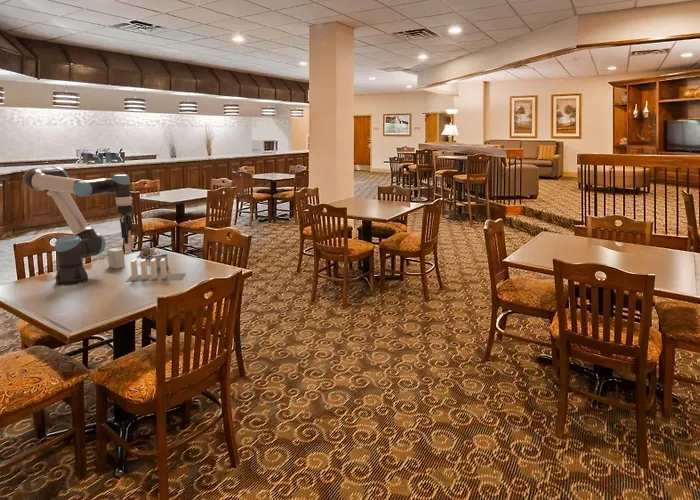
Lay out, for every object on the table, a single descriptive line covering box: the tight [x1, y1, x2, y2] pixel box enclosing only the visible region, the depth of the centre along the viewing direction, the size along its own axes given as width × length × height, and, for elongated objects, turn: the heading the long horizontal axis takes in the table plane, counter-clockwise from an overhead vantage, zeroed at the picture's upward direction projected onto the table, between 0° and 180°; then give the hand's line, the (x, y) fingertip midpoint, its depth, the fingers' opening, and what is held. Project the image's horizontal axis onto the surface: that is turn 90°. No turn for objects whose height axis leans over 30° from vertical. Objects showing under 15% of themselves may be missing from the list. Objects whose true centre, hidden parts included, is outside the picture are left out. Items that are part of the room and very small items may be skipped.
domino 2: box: [140, 258, 149, 279], centre depth 272 cm, size 2×5×10 cm, turn 9°
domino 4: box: [160, 258, 168, 279], centre depth 274 cm, size 2×5×10 cm, turn 9°
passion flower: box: [136, 245, 161, 264], centre depth 309 cm, size 11×11×12 cm
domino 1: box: [130, 258, 139, 280], centre depth 271 cm, size 2×5×10 cm, turn 9°
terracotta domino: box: [125, 230, 134, 252], centre depth 267 cm, size 2×5×10 cm, turn 7°
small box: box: [106, 247, 126, 269], centre depth 296 cm, size 8×6×10 cm
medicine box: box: [151, 252, 169, 271], centre depth 292 cm, size 8×4×9 cm, turn 143°
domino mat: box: [125, 273, 187, 283], centre depth 274 cm, size 29×13×1 cm, turn 99°
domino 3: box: [149, 259, 158, 279], centre depth 273 cm, size 2×5×10 cm, turn 9°
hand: (129, 248), depth 268 cm, fingers closed on terracotta domino, 5 cm apart
